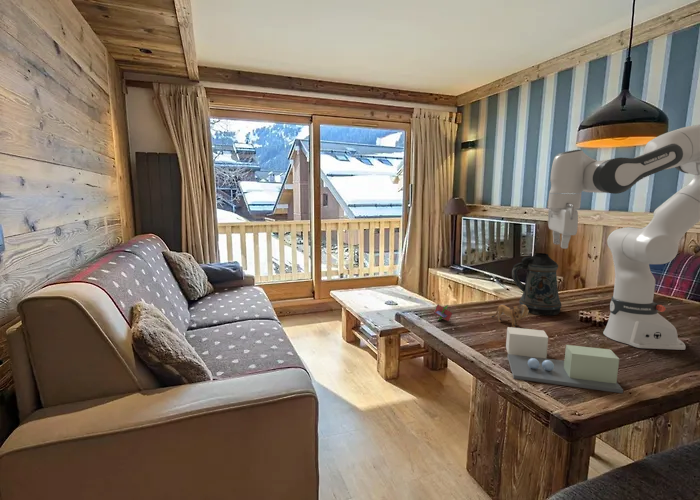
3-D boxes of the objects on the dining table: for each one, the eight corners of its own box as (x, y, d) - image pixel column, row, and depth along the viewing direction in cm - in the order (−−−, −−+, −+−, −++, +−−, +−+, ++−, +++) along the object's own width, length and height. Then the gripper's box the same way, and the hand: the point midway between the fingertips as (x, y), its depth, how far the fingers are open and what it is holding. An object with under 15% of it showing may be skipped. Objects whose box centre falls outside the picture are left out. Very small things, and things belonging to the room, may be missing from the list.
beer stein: (569, 314, 154) (575, 256, 151) (529, 317, 150) (534, 258, 146) (541, 303, 170) (546, 250, 166) (505, 305, 166) (509, 251, 162)
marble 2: (550, 368, 105) (554, 360, 104) (552, 374, 102) (556, 365, 101) (539, 364, 106) (543, 356, 105) (541, 370, 103) (545, 361, 102)
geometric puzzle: (458, 315, 146) (447, 298, 148) (452, 320, 141) (441, 302, 143) (444, 323, 150) (434, 306, 152) (438, 327, 145) (427, 310, 147)
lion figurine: (529, 327, 140) (531, 304, 139) (523, 330, 137) (524, 307, 135) (494, 316, 151) (496, 296, 150) (487, 319, 148) (488, 298, 147)
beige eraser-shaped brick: (542, 350, 119) (544, 330, 118) (546, 358, 113) (548, 337, 112) (505, 346, 122) (507, 326, 121) (508, 354, 116) (509, 333, 115)
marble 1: (538, 365, 106) (538, 356, 105) (540, 371, 103) (540, 361, 103) (526, 365, 107) (526, 355, 106) (528, 370, 104) (528, 361, 103)
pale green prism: (607, 373, 102) (610, 349, 101) (616, 383, 97) (619, 358, 96) (563, 367, 105) (566, 344, 104) (569, 377, 100) (572, 353, 99)
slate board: (602, 368, 107) (603, 365, 107) (622, 393, 94) (623, 389, 94) (507, 356, 114) (507, 353, 114) (513, 378, 101) (513, 375, 101)
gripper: (586, 204, 104) (581, 251, 106) (566, 202, 124) (562, 242, 126) (561, 203, 106) (557, 250, 108) (545, 202, 125) (542, 241, 128)
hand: (560, 246), depth 117 cm, fingers open, 8 cm apart
